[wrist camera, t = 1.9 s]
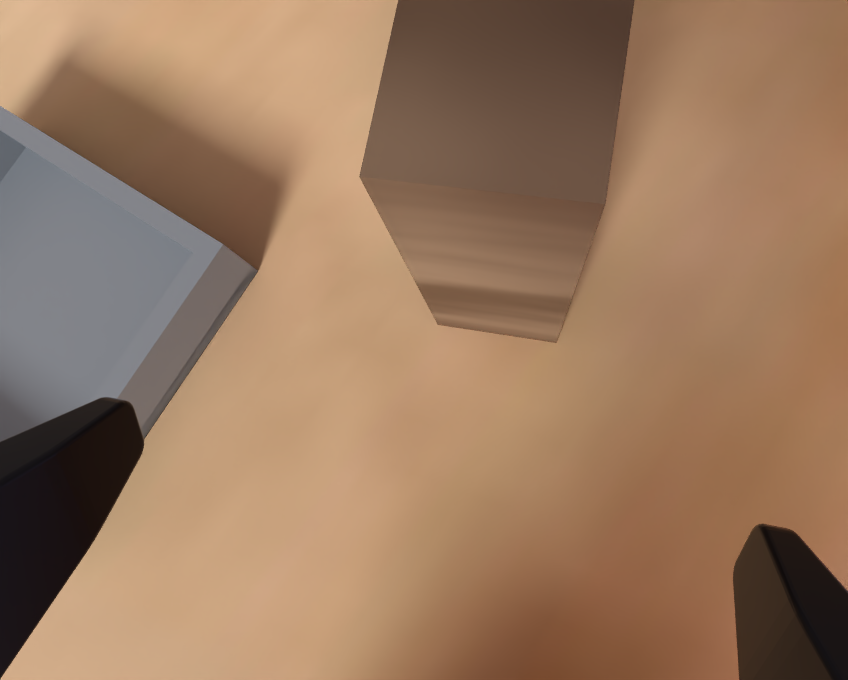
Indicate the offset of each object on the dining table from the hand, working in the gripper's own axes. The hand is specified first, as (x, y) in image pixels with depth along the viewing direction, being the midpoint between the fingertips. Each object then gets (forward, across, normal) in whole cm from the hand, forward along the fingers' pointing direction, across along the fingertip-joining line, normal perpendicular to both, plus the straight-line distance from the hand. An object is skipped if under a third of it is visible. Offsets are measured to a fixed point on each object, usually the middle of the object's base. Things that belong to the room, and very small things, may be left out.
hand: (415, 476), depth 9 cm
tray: (+11, +18, +8) cm, 23 cm away
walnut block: (+15, 0, +4) cm, 15 cm away
